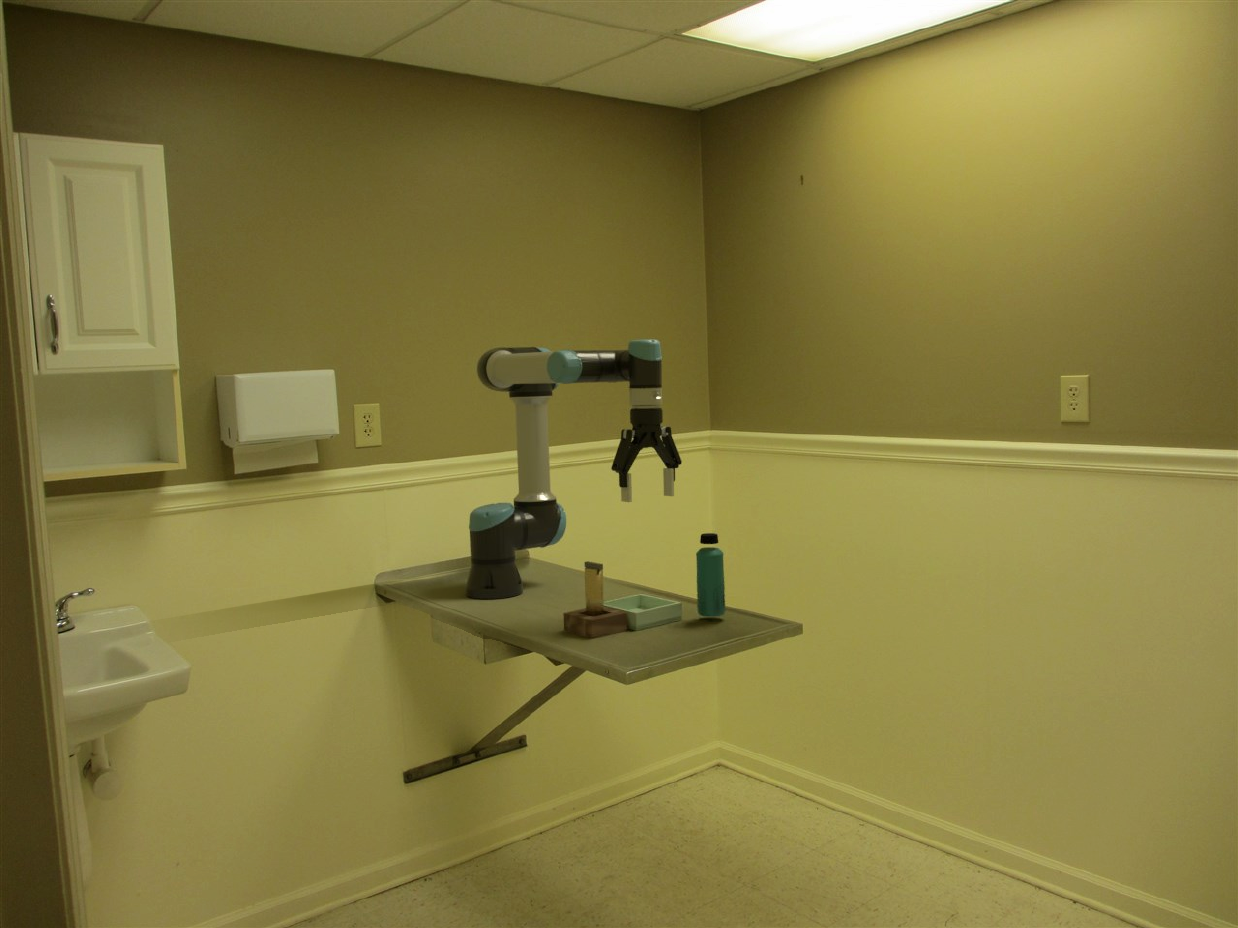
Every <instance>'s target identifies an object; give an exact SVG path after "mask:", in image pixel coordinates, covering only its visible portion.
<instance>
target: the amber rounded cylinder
mask: <svg viewBox="0 0 1238 928" xmlns="http://www.w3.org/2000/svg"><path fill="white" fill-rule="evenodd" d="M583 563H584V588H585V589H584V590H585V592H584V593H585V608H586V615H588V616H592V617H595V616H599V615H604V602H605V598H604V597H605V596H604V564H603V563H598V562H593V561H584V562H583Z"/></svg>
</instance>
